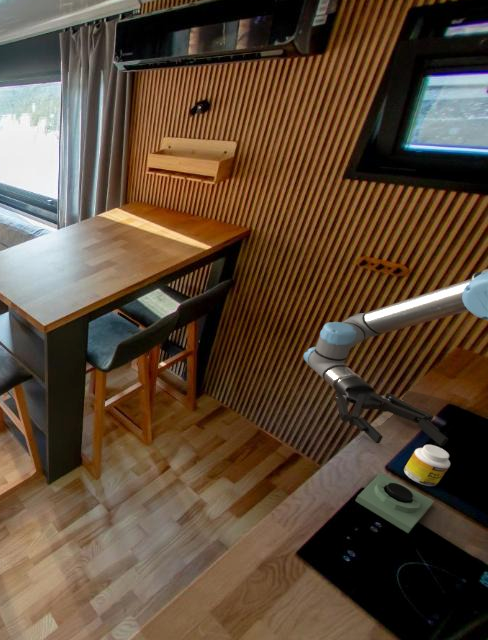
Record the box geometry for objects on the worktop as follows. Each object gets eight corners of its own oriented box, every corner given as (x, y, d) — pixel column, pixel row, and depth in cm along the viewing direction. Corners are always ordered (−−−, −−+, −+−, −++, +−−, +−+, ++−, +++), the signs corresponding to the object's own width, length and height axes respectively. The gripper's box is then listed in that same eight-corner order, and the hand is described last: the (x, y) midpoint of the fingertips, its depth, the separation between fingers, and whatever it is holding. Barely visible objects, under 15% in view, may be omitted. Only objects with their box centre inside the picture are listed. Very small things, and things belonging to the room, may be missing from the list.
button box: (377, 477, 95) (383, 467, 93) (430, 506, 87) (437, 496, 86) (355, 501, 91) (360, 491, 89) (408, 533, 84) (415, 523, 82)
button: (389, 484, 90) (392, 479, 89) (413, 497, 87) (416, 493, 86) (381, 492, 89) (384, 488, 88) (405, 506, 85) (408, 501, 85)
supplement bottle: (421, 488, 91) (439, 462, 87) (396, 469, 96) (411, 443, 92) (444, 485, 91) (462, 459, 86) (417, 466, 96) (433, 440, 91)
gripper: (393, 393, 112) (466, 453, 94) (298, 392, 118) (349, 448, 100) (402, 375, 109) (479, 433, 90) (304, 375, 115) (358, 429, 97)
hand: (411, 441), depth 95 cm, fingers open, 13 cm apart
